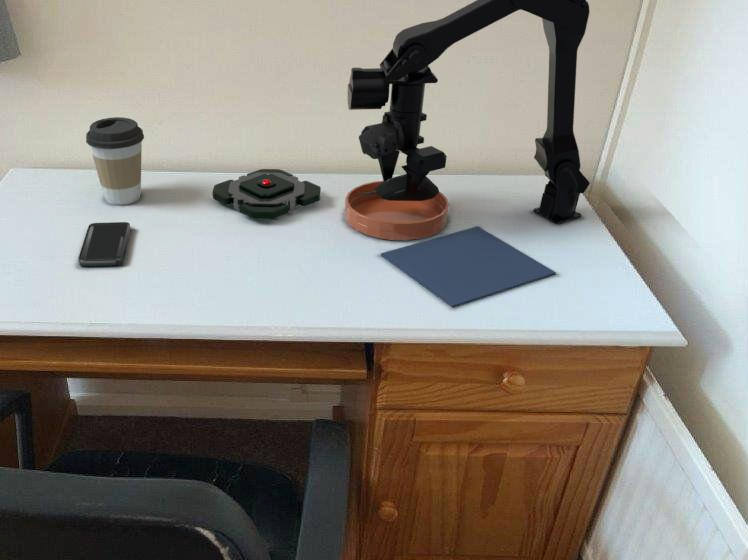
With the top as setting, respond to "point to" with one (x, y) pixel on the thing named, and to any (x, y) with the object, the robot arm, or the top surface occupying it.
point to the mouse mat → (466, 265)
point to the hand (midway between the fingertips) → (397, 191)
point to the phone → (105, 244)
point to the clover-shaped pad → (266, 193)
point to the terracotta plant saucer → (394, 215)
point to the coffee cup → (117, 158)
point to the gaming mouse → (404, 190)
